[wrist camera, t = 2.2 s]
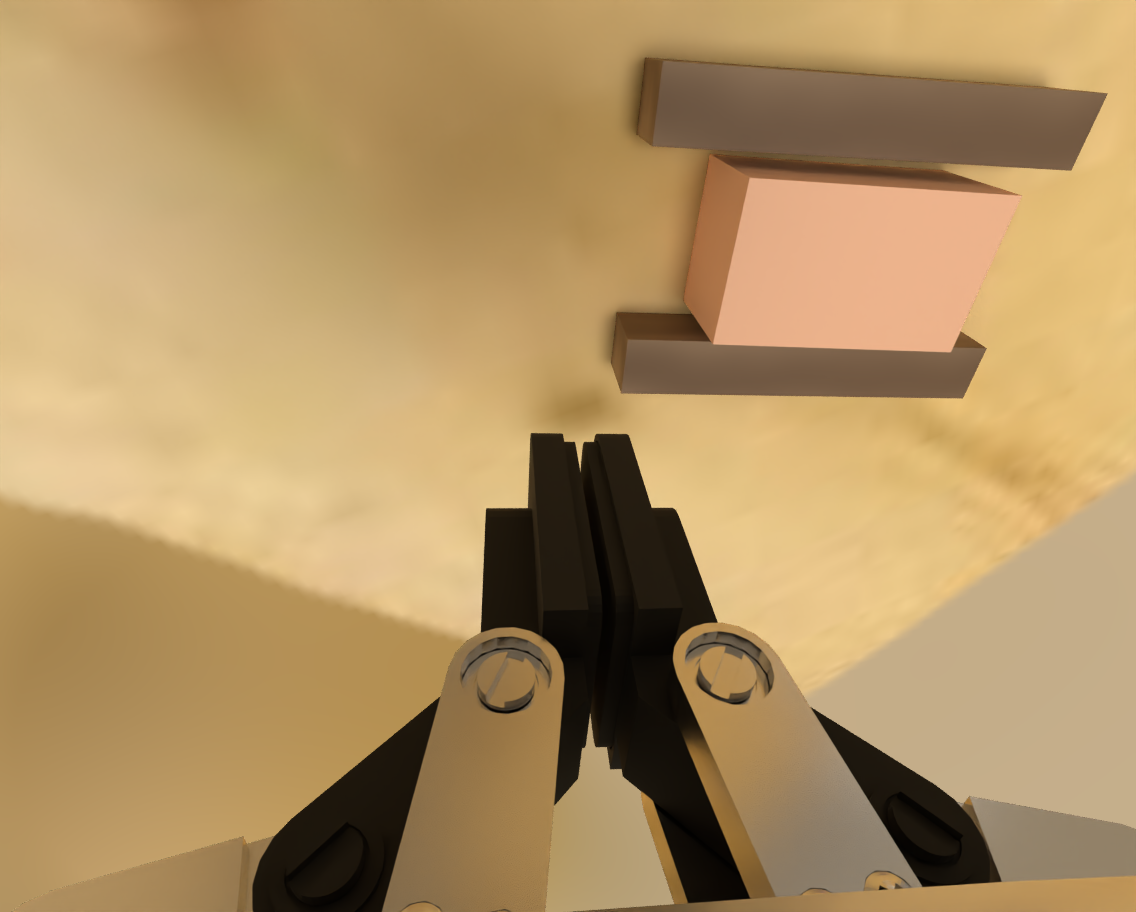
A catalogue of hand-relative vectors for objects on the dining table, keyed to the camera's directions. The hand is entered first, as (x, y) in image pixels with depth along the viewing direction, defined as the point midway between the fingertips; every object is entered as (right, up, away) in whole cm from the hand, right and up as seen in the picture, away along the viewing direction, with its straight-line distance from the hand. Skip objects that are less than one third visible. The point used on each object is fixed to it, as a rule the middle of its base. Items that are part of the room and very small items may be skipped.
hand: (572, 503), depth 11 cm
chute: (+10, +10, +16) cm, 22 cm away
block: (+10, +10, +16) cm, 22 cm away
